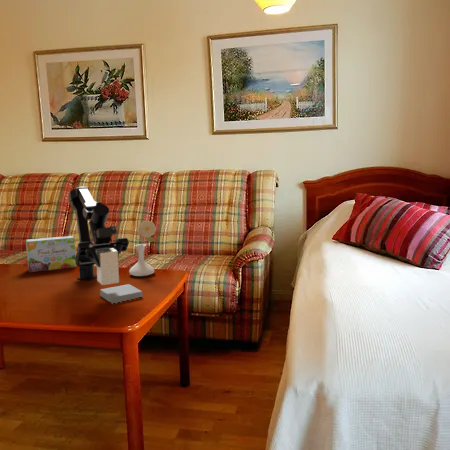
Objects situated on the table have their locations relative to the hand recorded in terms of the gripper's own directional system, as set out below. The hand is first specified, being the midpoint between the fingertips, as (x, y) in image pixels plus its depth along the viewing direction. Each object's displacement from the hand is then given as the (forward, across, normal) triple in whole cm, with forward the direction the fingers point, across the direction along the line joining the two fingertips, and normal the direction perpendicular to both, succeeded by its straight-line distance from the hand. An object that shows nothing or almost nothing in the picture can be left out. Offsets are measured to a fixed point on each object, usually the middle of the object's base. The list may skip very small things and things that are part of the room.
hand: (108, 265), depth 164 cm
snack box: (-33, -10, +53) cm, 64 cm away
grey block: (+9, +5, +11) cm, 15 cm away
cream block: (+4, 0, +6) cm, 7 cm away
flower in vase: (-9, +23, +29) cm, 38 cm away
